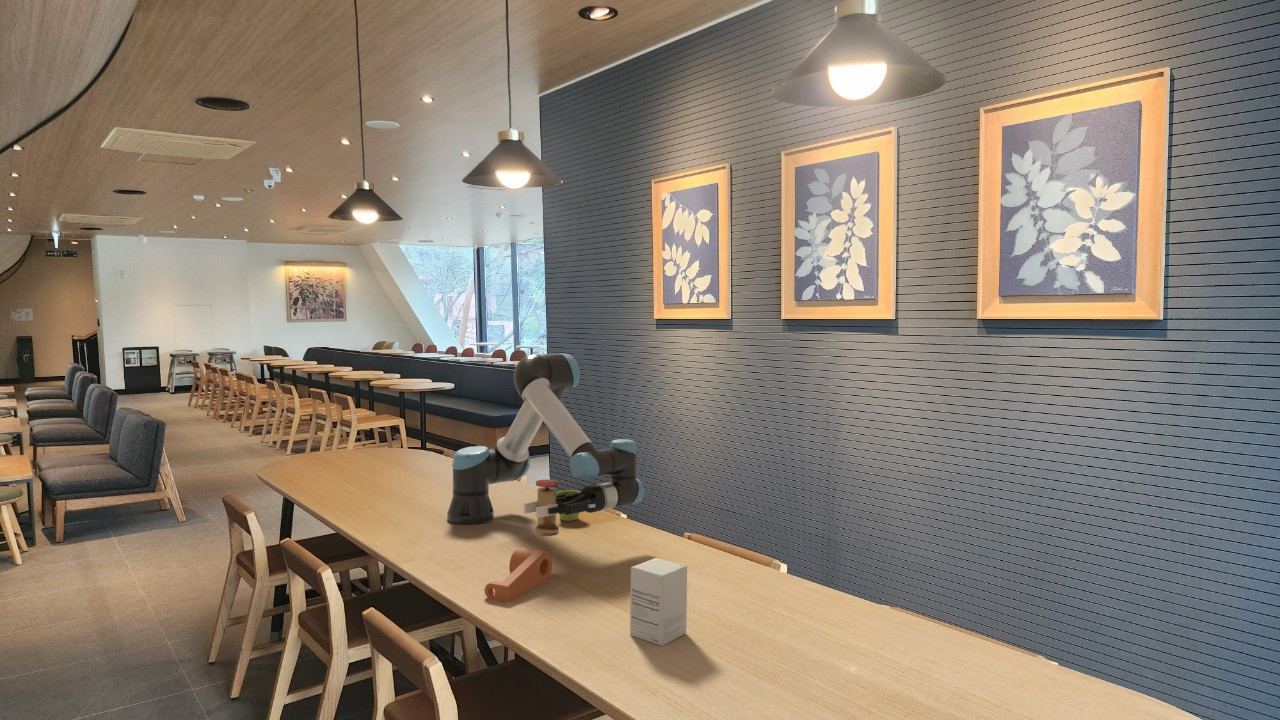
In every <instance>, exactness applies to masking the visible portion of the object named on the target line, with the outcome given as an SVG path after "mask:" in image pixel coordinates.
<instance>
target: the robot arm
mask: <svg viewBox="0 0 1280 720" xmlns="http://www.w3.org/2000/svg"><path fill="white" fill-rule="evenodd" d="M579 366H580V365H579V364H578V361H577V360H576V358H575V357H574V356H572V355H571V354H568V353H560V352H557V353H540V354H539V353H534V354H528V355H526V356H524V357H523V358H521V359H520V360H519V361H518V363H517V364H516V365H515V368H514V371H513V383H514V387H515V389H516V391H517V393H518V394H519V395H518V396H519V397H520V398H521V399H522V401H523V403H522V405H521V407H520V409H519V410H518V413H517V414H516V416H515V418H514V420H513V422H512V424H511V425H510V427H509V429H508V431H507V432H506V435H505V436H503V437H501V438H499V439H498V440H497V442H496V444H495V446H494V447H493V448H490V449H489V447H487V446H483V445H475V446H467V447H463V448H460V449H459V450H457V451H456V452H454V454H453V458H452V459H453V460H452V498H451V501H450V504H449V506H448V510H447V515H446V516H447V518H446V519H447V520H446V521H448V522H450V523H453V524H460V525H474V524H482V523H486V522H490V521H492V520H493V519H494V518H495V517H494V515H495V514H494V513H495V511H494V508H493V504H492V502H491V499H490V495H489V491H490V489H489V488H490V485H492V484H500V483H506V482H514V481H516V480H519V479H521V478H524V476H526V474H527V473H528V471H529V469H530V465H531V464H530V463H529V462H530V461H531V456H530V454H529V453H530V452H529V447H530V445H531V443H532V441H533V440H534V438H535V436H536V435H537V433H538V431H539V429H540V428H541V426H542V424H543V423H544V424H545V426H546V427H547V428H548V430H549V431H550V432H551V434H552V435H553V436H554V438H555V439H556V440H557V442H558V443H559V445H560V446H561V447H562V448H563V450H564V451H565V452H566V454H567V455H568V457H569V458H570V460H569V461H570V462H569V469H570V470H571V472H570V473H571V474H572V476H573V477H574V478H576V479H577V480H593V479H596V478H601V477H605V476H610V482H603V483H597V484H593V485H588V486H587V485H586V486H584V487H582V489H581V491H580V492H581V493H574V494H571V495H568V493H563V494H560V495H556V504H551V505H545V506H540V507H538V500H535V501H529V502H524V503H523V514H527V515H528V514H532V513H535V517H536V518H537V519H538V518H540V517H545V516H550V515H555V514H556V515H559V514H563V513H565V515H569V514H574V513H579V514H580V513H584V512H587V513H588V514H589V513H590V514H592V513H597V512H600V511H604V512H608V510H610V509H615V508H620V507H626V506H632V505H635V504H638V503H640V502H641V501H642V500H643V498H644V496H645V488H644V483H643V482H642V481H641V480H640V479H639V478H637V455H638V454H637V445H636V442H635V440H633V439H629V438H628V439H627V438H620V439H613V440H611V441H610V445H609V448H603V449H597V447H596V446H595V444H593V442H592V441H591V440H590V438H589V437H588V435H587V434H586V433H585V432H584V430H583V429H582V428H581V427H580V425H579V424H578V422H577V421H576V420H575V419H574V417H573V416H572V415H571V413H570V412H569V411H568V409H567V408H566V407H565V406H564V404H563V403H562V402H561V400H562V398H563V396H564V395H565V393H566V391H567V390H572V389H575V388H576V387H577V386H578V384H579V383H580V378H581V371H580V367H579Z"/></svg>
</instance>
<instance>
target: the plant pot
mask: <svg viewBox="0 0 1280 720" xmlns="http://www.w3.org/2000/svg"><path fill="white" fill-rule="evenodd" d="M563 493H568V495H571V494H574V493H581V491H579V490H560V491H556V495H560V494H563ZM579 514H580V512H579V513H574V514H569V515H565V513H563V514H559V513H558V515H559V520H562V521H565V522H572V521H578V520H579Z"/></svg>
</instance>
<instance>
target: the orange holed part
mask: <svg viewBox="0 0 1280 720" xmlns="http://www.w3.org/2000/svg"><path fill="white" fill-rule="evenodd" d="M508 566H509V567H508V568H509V575H507V576H506V577H505V579H503V580H502V581H498V580H493V581H491V582H489V583H487V584H486V585H485V588H484V594H485V596H486V598H487V599H491V600H496V601H501V602H505V603H508V602H511V601H512V600H514V599H516V598H517V597H519V596H521V595H523V594H525V593H526V592H529V591H531V590H533V589H534V588H535V587H537V586H540V585H541V584H543V583H545V582H547V580H548V579H549V578H550V576H551V574H552V571H553V556H552V554H551V553H550V552H549V551H545V550H541V549H540V550H539V549H534V548H528V547H523V546H519V547H517V548H516V549H515V550H513V553H512V554H511V556H510V560H509V565H508Z"/></svg>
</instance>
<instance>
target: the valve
mask: <svg viewBox="0 0 1280 720" xmlns="http://www.w3.org/2000/svg"><path fill="white" fill-rule="evenodd" d="M535 486H537V487H538V488H537V501H538V507H540V506H545V505H551V504H556V493H557V488H556V487H558V486H559V481H558V480H556V479H539V480H536V481H535ZM534 534H535V535H536V536H538V537H539V536H540V537H552V536H557V535H558V534H559V525H557V514H555V515H550V516H545V517H540V518H537V525H535V526H534Z"/></svg>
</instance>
